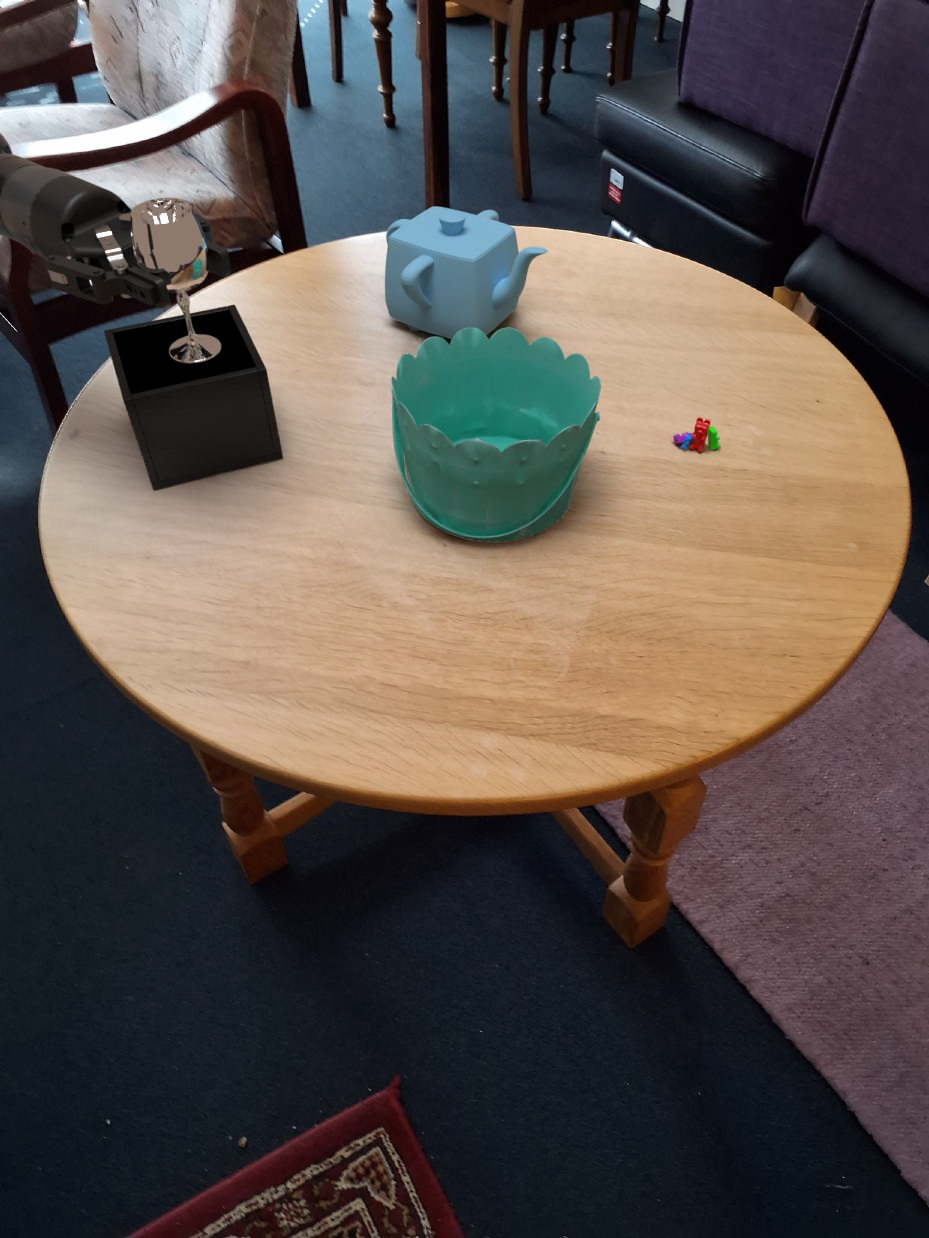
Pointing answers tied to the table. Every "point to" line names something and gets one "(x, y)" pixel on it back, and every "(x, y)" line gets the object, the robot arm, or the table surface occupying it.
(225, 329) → the waste bin
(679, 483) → the table surface
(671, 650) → the table surface
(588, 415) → the basket
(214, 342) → the wineglass
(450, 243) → the teapot
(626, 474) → the table surface
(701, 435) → the gummy bear
